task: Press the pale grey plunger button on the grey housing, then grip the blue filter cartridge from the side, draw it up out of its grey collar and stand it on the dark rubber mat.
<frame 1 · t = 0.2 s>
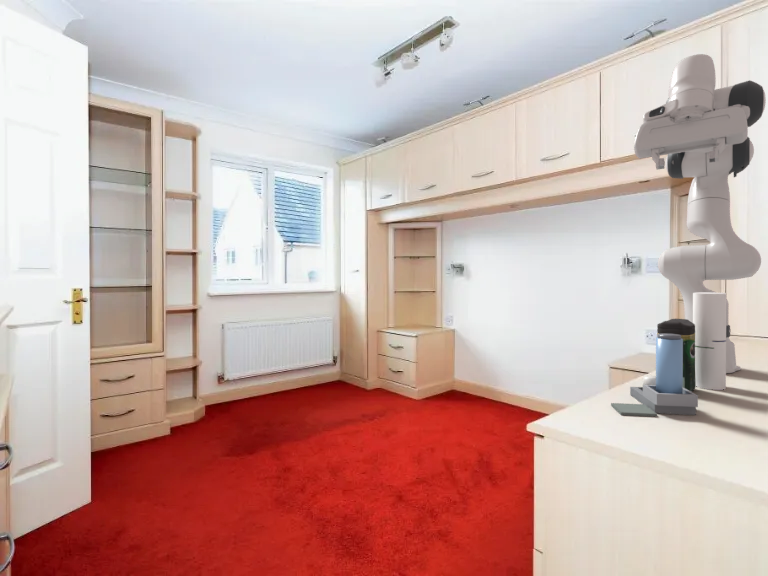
hand: (685, 164, 93), 54 cm above the table, tool tilted 30°, fingers open, 8 cm apart
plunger: (652, 383, 106), point 4 cm above the table, slide at 0.0 cm
mat: (633, 410, 97), on the table
cartridge: (668, 400, 97), point 2 cm above the table, touching housing
housing: (660, 403, 102), on the table
coffee jar: (675, 390, 114), on the table
cylindrical container: (708, 387, 117), on the table
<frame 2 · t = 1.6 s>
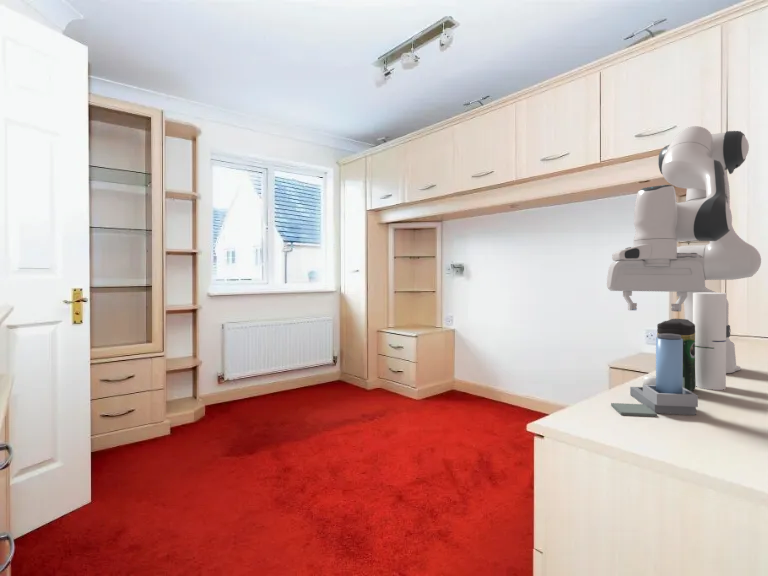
hand: (654, 310, 104), 22 cm above the table, tool pointing down, fingers open, 8 cm apart
nothing on the table moved.
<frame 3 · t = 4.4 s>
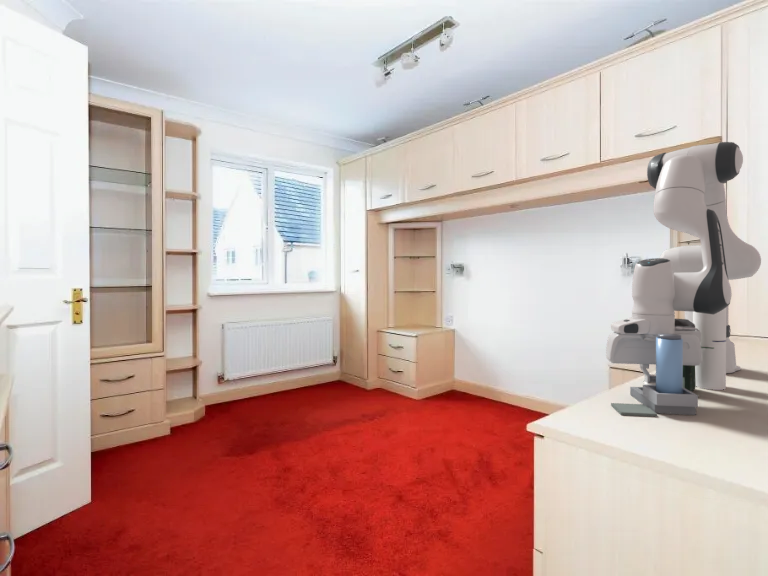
hand: (652, 382, 106), 4 cm above the table, tool pointing down, fingers closed, pressing on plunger
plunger: (652, 388, 106), point 2 cm above the table, slide at 1.3 cm, touching gripper
everything else where it was.
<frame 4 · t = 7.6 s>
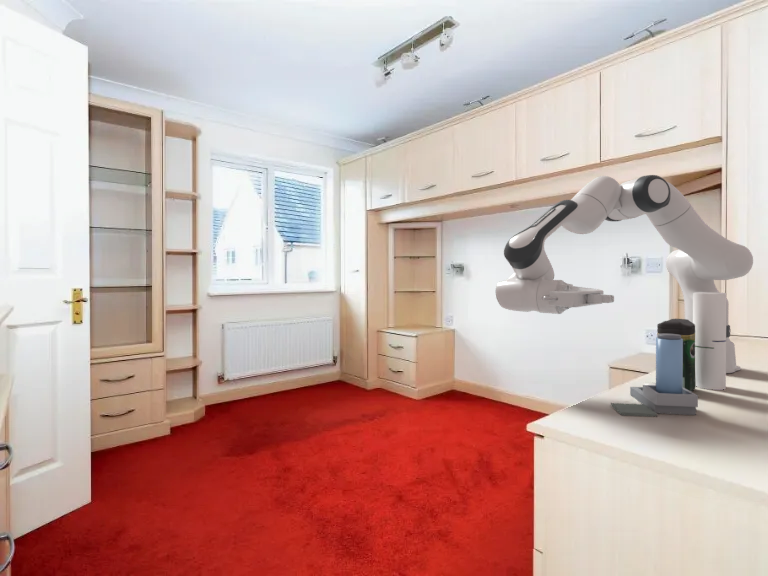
hand: (612, 299, 105), 24 cm above the table, tool horizontal, fingers closed
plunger: (652, 390, 106), point 2 cm above the table, slide at 1.7 cm
everything else where it was.
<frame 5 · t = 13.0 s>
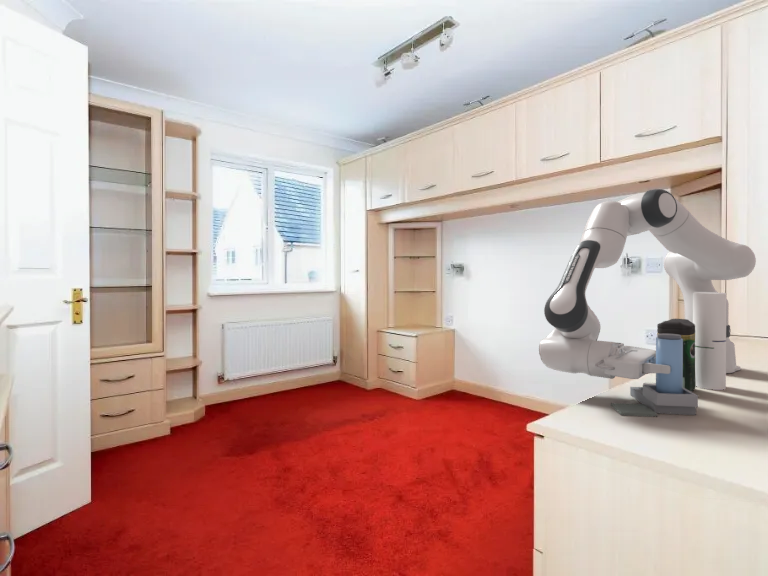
hand: (673, 367, 97), 10 cm above the table, tool horizontal, fingers closed on cartridge, 5 cm apart
cartridge: (668, 400, 97), point 2 cm above the table, touching gripper, housing
everything else where it was.
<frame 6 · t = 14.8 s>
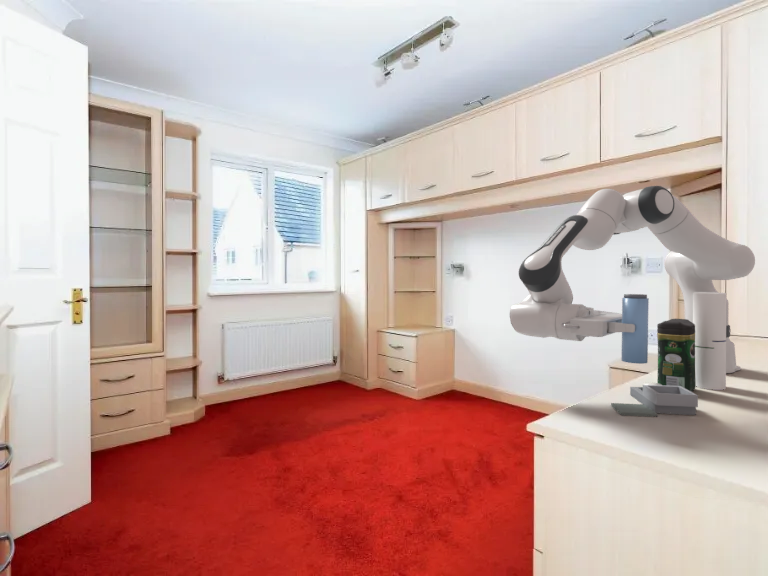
hand: (639, 327, 96), 19 cm above the table, tool horizontal, fingers closed on cartridge, 5 cm apart
cartridge: (634, 361, 97), point 11 cm above the table, touching gripper
everything else where it was.
when the fingers open (9 cm above the table, at t = 16.9 s): cartridge drops 1 cm, resting on mat.
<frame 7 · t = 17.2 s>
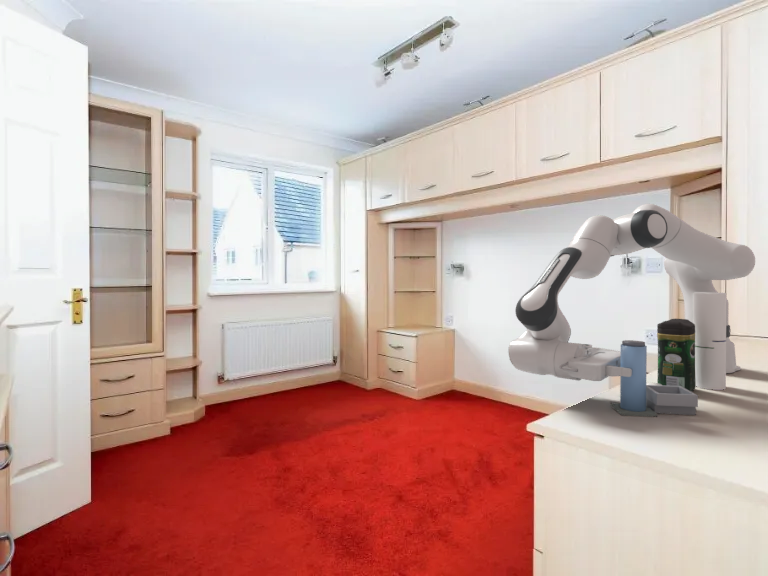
hand: (637, 369, 96), 9 cm above the table, tool horizontal, fingers open, 8 cm apart
cartridge: (633, 408, 97), point 1 cm above the table, touching mat
everything else where it was.
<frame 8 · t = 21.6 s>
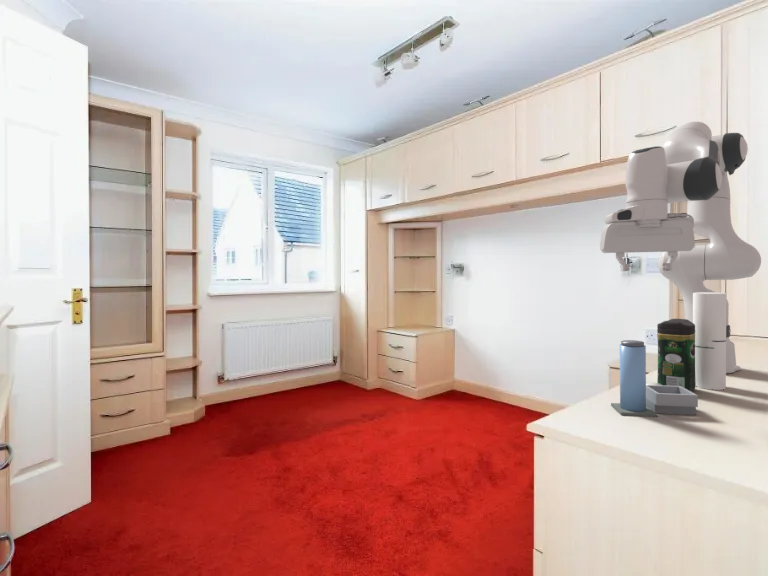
hand: (646, 270, 107), 31 cm above the table, tool pointing down, fingers open, 8 cm apart
nothing on the table moved.
at the end: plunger slide at 1.7 cm; cartridge inside the target area on the mat (0.0 cm from its centre), point 0.7 cm above the mat's base; cartridge tilted 2° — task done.
